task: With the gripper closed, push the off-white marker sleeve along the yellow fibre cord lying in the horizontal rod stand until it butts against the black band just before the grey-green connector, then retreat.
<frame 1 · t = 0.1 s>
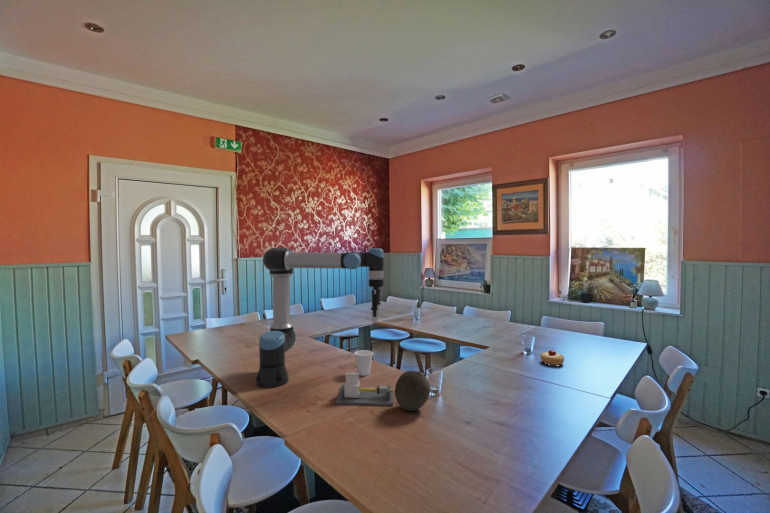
hand: (375, 320, 183), 28 cm above the table, fingers open, 13 cm apart
horizontal rod stand: (365, 398, 155), on the table
sleeve: (352, 384, 155), point 6 cm above the table, slide at 0.0 cm
pastry: (551, 364, 201), on the table
cup: (363, 374, 184), on the table
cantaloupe: (412, 409, 146), on the table
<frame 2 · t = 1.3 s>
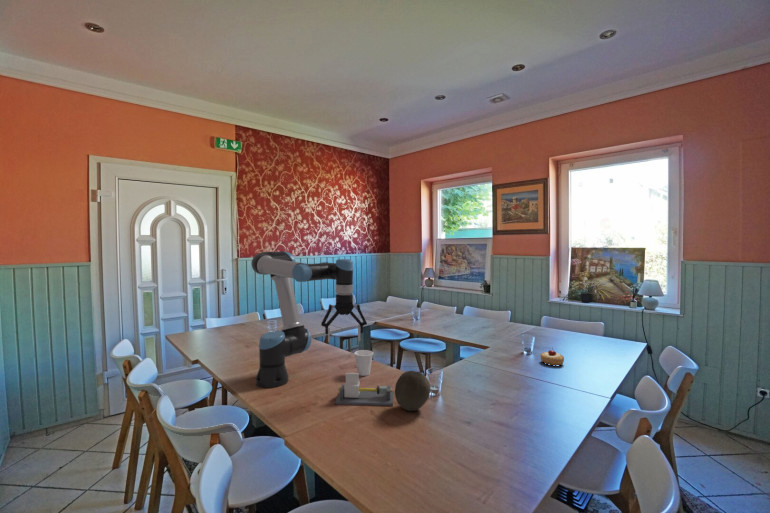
hand: (344, 340, 160), 23 cm above the table, fingers open, 13 cm apart
nothing on the table moved.
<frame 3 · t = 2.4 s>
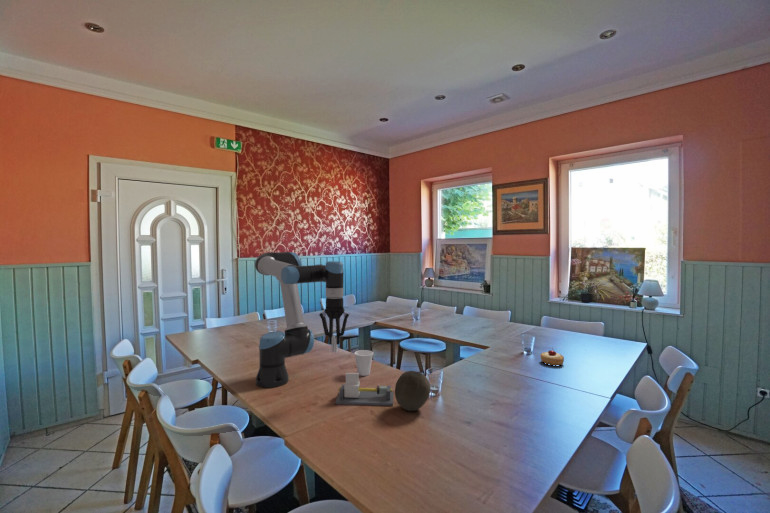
hand: (334, 351, 154), 20 cm above the table, fingers closed
nothing on the table moved.
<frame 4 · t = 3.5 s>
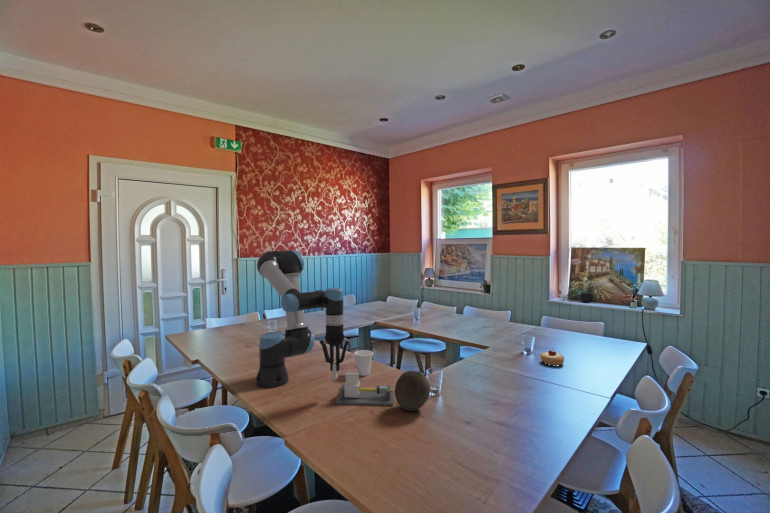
hand: (335, 378, 155), 9 cm above the table, fingers closed
nothing on the table moved.
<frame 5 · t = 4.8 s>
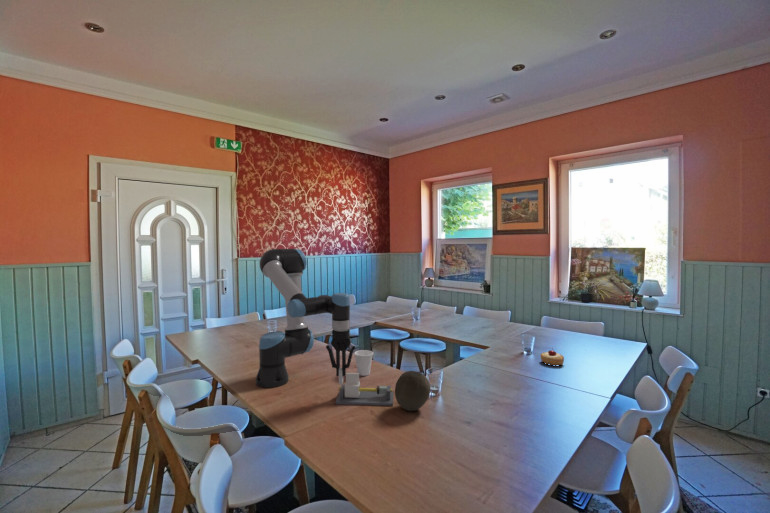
hand: (341, 383, 155), 7 cm above the table, fingers closed
sleeve: (352, 384, 155), point 6 cm above the table, slide at 0.1 cm, touching gripper
everything else where it was.
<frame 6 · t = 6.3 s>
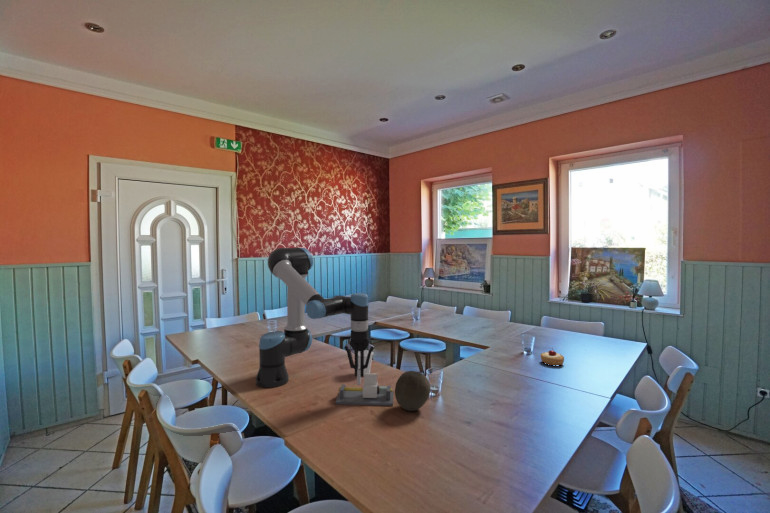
hand: (359, 383, 154), 7 cm above the table, fingers closed
sleeve: (370, 384, 154), point 6 cm above the table, slide at 7.9 cm, touching horizontal rod stand, gripper
everything else where it was.
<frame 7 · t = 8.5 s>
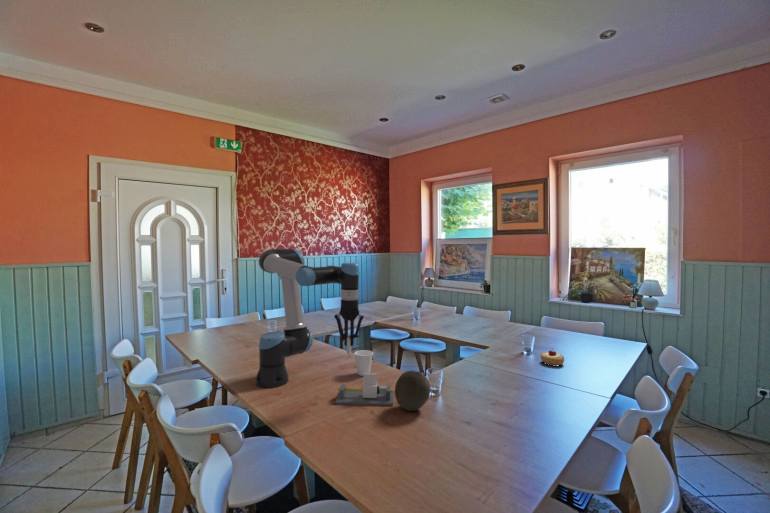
hand: (348, 353, 154), 20 cm above the table, fingers closed
sleeve: (370, 384, 154), point 6 cm above the table, slide at 7.8 cm
everything else where it was.
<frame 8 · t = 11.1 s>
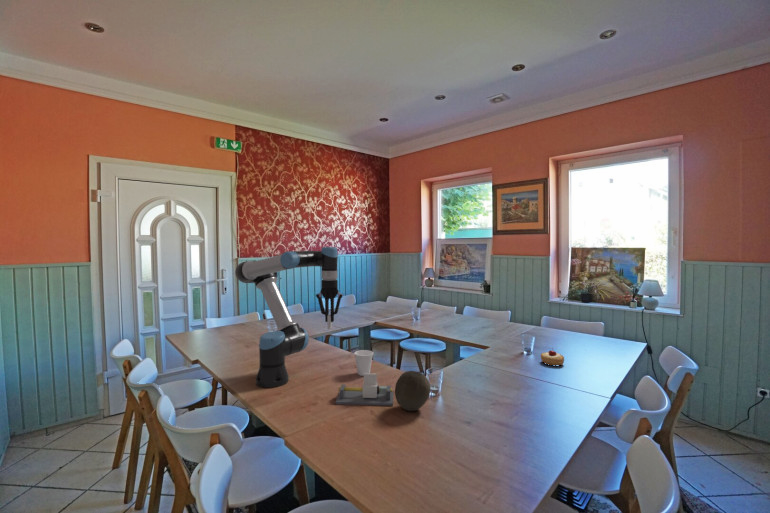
hand: (329, 328, 171), 26 cm above the table, fingers closed
nothing on the table moved.
at the end: sleeve slide at 7.8 cm; sleeve touching nothing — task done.
